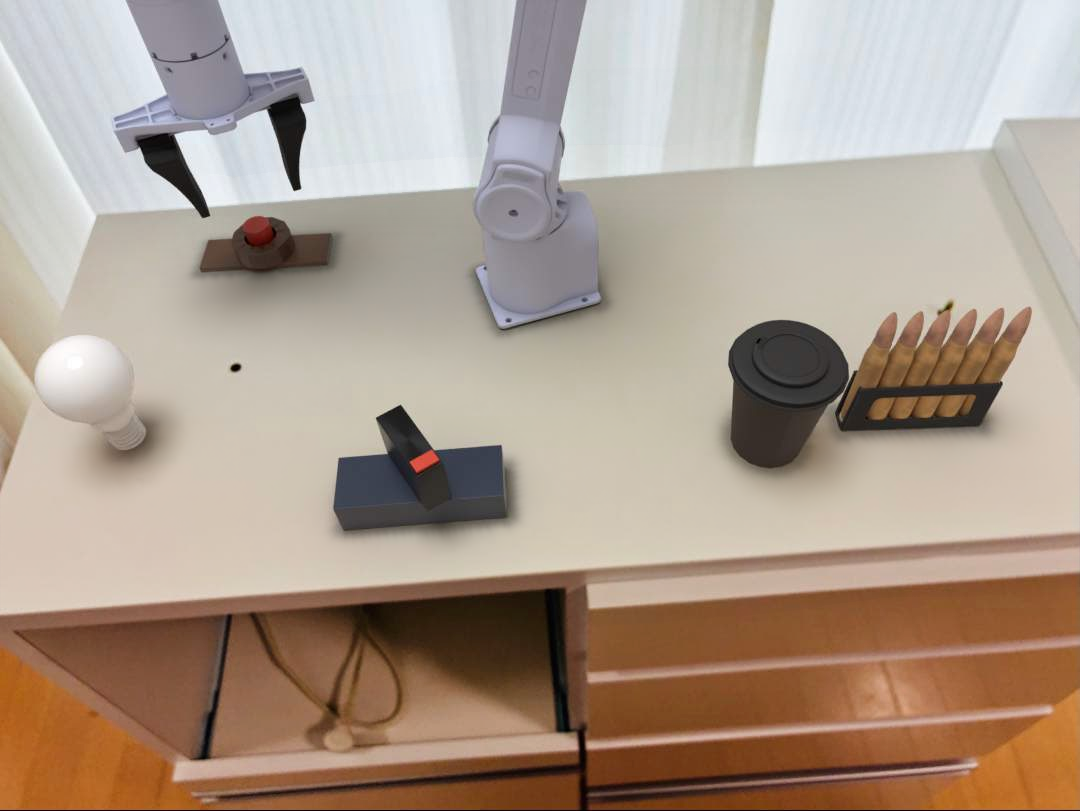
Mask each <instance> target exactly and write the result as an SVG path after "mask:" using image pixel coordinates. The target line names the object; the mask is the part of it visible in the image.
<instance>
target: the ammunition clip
mask: <svg viewBox="0 0 1080 811" xmlns="http://www.w3.org/2000/svg"><path fill="white" fill-rule="evenodd" d="M1032 310H1033V309H1032V307H1031V306H1027V307H1024V308H1023V309H1022V310H1021V311H1019V312H1018V313H1017V314H1016V315H1015V316H1014V317H1013V318H1012V320H1011V321H1010V322H1009V323H1008V324H1007V326H1006V328H1005V329H1004V331H1003V332H1002V333H1001V335H1000V332H1001V329H1002V327H1003V323H1004V320H1005V309H1004V307H1000V308H999V307H998V308H997V309H996V310H995V311H993V312H992V313H991V314H990V315H989V316H988V317H987V318H986V320H985V321H984V322H983V324H982V325H981V326H980V328H979V330H978V331H977V333H976V334H975V335H974V337H973V333H974V331H975V329H976V326H977V320H978V312H977V309H976V308H973V309H970V310H969V311H968V312H967V313H965V314H964V316H962V318H960V319H959V321H958V323H956V325H955V326H954V328H953V331H952V332H951V333H950V335H949V337H948V338H947V334H948V332H949V328H950V324H951V311H950V310H949V309H946V310H944V311H943V312H941V313H940V314H939V315H938V316H937V317H936V318H935V320H934V321H933V322H932V323H931V325H930V327H929V328H928V330H927V332H926V333H925V335H924V337H923V339H921V342H920V344H918V343H919V340H920V338H921V335H922V332H923V329H924V324H925V323H924V322H925V315H924V312H923V310H921V311H918V312H916V313H915V314H914V315H912V317H911V318H910V319H909V320H908V322H907V323H906V325H905V326H904V328H903V329H902V332H901V334H900V336H899V337H898V339H897V340H896V343H895V344H894V346H893V342H894V340H895V337H896V333H897V329H898V320H899V319H898V314H897V313H896V312H895V311H893V312H891V313H890V314H889V315H887V316H886V318H885V319H884V320H883V321H882V323H881V324H880V326H879V328H878V329H877V331H876V333H875V335H874V337H873V339H872V341H871V343H870V345H869V347H868V348H867V349H866V350H865V352H864V354H863V356H862V359H861V361H860V364H859V367H858V369H856V370H855V369H854V370H853V372H852V375H851V376H850V378H849V380H848V383H847V385H846V387H845V390H844V392H843V393H842V396H841V398H840V400H839V403H838V405H837V407H836V408H835V410H834V415H835V417H836V421H837V424H838V428H839V430H840V431H841V432H862V431H885V430H886V431H887V430H888V431H889V430H913V429H914V430H915V429H941V428H944V429H945V428H966V427H970V428H971V427H980V426H981V425H982V423H983V421H984V420H985V417H986V416H987V413H988V412H989V411H990V409H991V407H992V405H993V403H994V402H995V400H996V398H997V396H998V394H999V392H1000V391H1001V389H1002V387H1003V385H1004V383H1003V380H1002V379H1003V378H1004V376H1005V374H1006V372H1007V371H1008V370H1009V367H1010V366H1011V365H1012V363H1013V361H1014V359H1015V357H1016V355H1017V352H1018V348H1019V346H1020V344H1021V342H1022V340H1023V338H1024V336H1025V334H1026V332H1027V330H1028V328H1029V326H1030V324H1031V319H1032V314H1033V313H1032V312H1033V311H1032ZM999 335H1000V336H999ZM998 336H999V338H998ZM972 337H973V339H972ZM946 338H947V340H946V342H945V343H944V341H945V339H946ZM997 338H998V339H997ZM971 339H972V340H971ZM970 340H971V341H970ZM969 342H970V343H969Z"/></svg>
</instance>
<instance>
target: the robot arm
mask: <svg viewBox="0 0 1080 811" xmlns="http://www.w3.org/2000/svg"><path fill="white" fill-rule="evenodd" d="M125 2H126V4H127V8H128V9H129V11H130V15H131V16H132V17H133V20H134V23H135V25H136V27H137V30H138V32H139V34H140V36H141V39H142V41H143V43H144V45H145V46H144V47H145V48H146V50H147V53H148V55H149V57H150V59H151V61H152V63H153V66H154V68H155V70H156V73H157V75H158V77H159V80H160V82H161V84H162V87H163V88H164V91H165V93H166V94H164V95H162V96H159V97H158V98H155V99H152V100H151V101H149V102H146V103H144V104H142V105H140V106H138V107H135V108H133V109H131V110H128V111H125V112H124V113H119V114H116V115H113V116H111V117H110V121H111V126H112V129H113V132H114V134H115V136H116V138H117V141H118V142H119V144H120V146H121V147H122V150H123V153H125V154H126V153H130V152H134V151H137V150H138V149H140V152H141V154H142V158H143V161H144V163H145V165H146V166H147V167H148V168H149V169H150V170H151V171H152V172H153V173H155V174H156V175H158V176H159V177H161V178H163V179H164V180H166V181H167V182H168V183H169V184H170V185H172V186H173V187H174V188H176V190H178V191H179V192H180V193H181V194H182V195H183V196H184V197H185V198H186V199H187V200H188V202H189V203H190V204H191V205H192V206H193V207H194V209H195V210H196V211H197V213H198V215H199V216H200V217H201V219H206V218H209V217H211V214H210V210H209V207H208V204H207V200H206V199H205V195H204V194H203V192H202V189H201V187H200V185H199V184H198V181H197V180H196V178H195V176H194V175H193V173H192V171H191V169H190V168H189V165H188V163H187V161H186V158H185V156H184V154H183V152H182V149H181V147H180V144H179V142H178V140H177V138H176V135H178V134H181V133H185V132H197V131H207V133H208V134H209V135H211V136H217V135H221V134H225V133H228V132H231V131H234V130H236V128H237V127H238V124H237V123H238V122H239V121H241V120H243V119H245V118H247V117H249V116H251V115H254V114H255V113H258V112H262V111H267V115H268V117H269V120H270V123H271V126H272V127H273V128H272V129H273V131H274V134H275V138H276V141H277V144H278V148H279V152H280V155H281V160H282V164H283V168H284V171H285V174H286V177H287V179H288V182H289V184H290V186H291V189H292V190H293V192H297V191H300V190H302V184H301V176H300V162H301V161H300V160H301V150H302V145H303V141H304V137H305V133H306V130H307V115H306V113H305V111H304V109H303V107H302V105H307V104H309V103H312V102H313V103H314V102H315V97H314V94H313V93H314V92H313V90H312V87H311V84H310V79H309V77H308V76H307V74H306V72H305V70H304V67H302V66H300V67H295V68H292V69H291V68H290V69H285V70H275V71H274V70H273V71H263V72H250V73H245V72H244V70H243V67H242V64H241V61H240V59H239V56H238V52H237V50H236V47H235V44H234V41H233V38H232V36H231V33H230V31H229V28H228V24H227V22H226V19H225V16H224V13H223V9H222V7H221V5H220V2H219V0H125ZM587 2H588V0H516V1H515V6H514V14H513V20H512V21H513V22H512V27H511V28H512V29H511V36H510V43H509V50H508V56H507V61H506V62H507V64H506V70H505V77H504V84H503V91H502V97H501V105H500V112H499V115H498V116H497V117H496V118H495V119H494V121H493V122H492V123H491V125H490V126H489V131H488V135H487V147H486V151H485V155H484V156H485V157H484V160H483V165H482V169H481V174H480V178H479V183H478V187H477V188H476V189H475V191H474V195H473V199H472V211H473V214H474V217H475V220H476V221H477V223H478V224H479V226H480V228H481V238H482V245H483V252H484V259H485V264H483V265H480V266H478V267H477V268H475V275H476V276H477V279H478V282H479V284H480V286H481V289H482V291H483V294H484V296H485V298H486V300H487V304H488V305H489V309H490V311H491V312H492V315H493V318H494V320H495V323H496V325H497V327H498V328H499V329H503V330H505V329H509V328H512V327H516V326H520V325H523V324H526V323H530V322H534V321H538V320H542V319H545V318H548V317H552V316H553V317H554V316H557V315H560V314H564V313H567V312H571V311H575V310H579V309H582V308H586V307H589V306H593V305H597V304H599V303H600V302H601V300H602V297H601V294H600V292H599V251H600V250H599V249H600V248H599V246H600V243H599V242H600V241H599V232H598V227H597V222H596V221H597V220H596V217H595V213H594V211H593V208H592V206H591V203H590V201H589V199H588V197H587V196H586V194H585V193H584V192H583V191H581V190H571V191H570V190H563V188H562V186H561V184H560V182H559V181H560V180H559V179H560V174H561V165H562V159H563V157H564V153H565V148H566V140H565V134H564V132H563V129H562V126H561V124H562V120H563V119H562V118H563V114H564V111H565V110H564V109H565V105H566V101H567V96H568V93H569V92H568V91H569V87H570V81H571V77H572V72H573V68H574V63H575V59H576V53H577V49H578V44H579V40H580V39H579V38H580V35H581V31H582V26H583V21H584V16H585V12H586V7H587Z"/></svg>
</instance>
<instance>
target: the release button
mask: <svg viewBox="0 0 1080 811" xmlns="http://www.w3.org/2000/svg"><path fill="white" fill-rule="evenodd" d="M266 217H267V216H266ZM266 217H265V216H263V215H255V216H251V217H249V218H248V219H246V220H245V221H244V222H243V224H242V225H243V230H244V232H245V235H246V237H247V239H248V242H249V243H250V244H251V245H252V246H263V245H266V244H268V243H270V242H271V241H272V240H273V239H274V233H273V231H272V228H271V226H270V223H269V220H268V219H267V218H266Z"/></svg>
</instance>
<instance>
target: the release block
mask: <svg viewBox="0 0 1080 811" xmlns="http://www.w3.org/2000/svg"><path fill="white" fill-rule="evenodd" d="M266 218H267V219H268V220H269V223H270V226H271V228H272V231H273V233H274V239H273V240H272V241H271V242H270V243H268V244H266V245H263V246H252V245H251V244H250V243H249V242H248V239H247V237H246V235H245V232H244V230H243V224H241V225H240V226H239V227H238V228H237V229H236V230H235V231H234V232H233V233H232V237H231V238H220V239H208V240H207V243H206V246H205V249H204V252H203V255H202V259H201V261H200V264H199V270H200V273H211V272H212V273H213V272H231V271H247V270H249V271H250V270H262V269H263V270H265V269H267V270H268V269H283V268H299V267H300V268H303V267H318V266H319V267H321V266H328V264H329V259H330V253H331V249H332V243H333V234H332V233H331V232H325V233H323V232H322V233H306V234H292V232H291V229H290V227H289V226H288V225H287V223H286V221H285V220H282V219H279V218H277V217H273V216H266Z"/></svg>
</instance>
